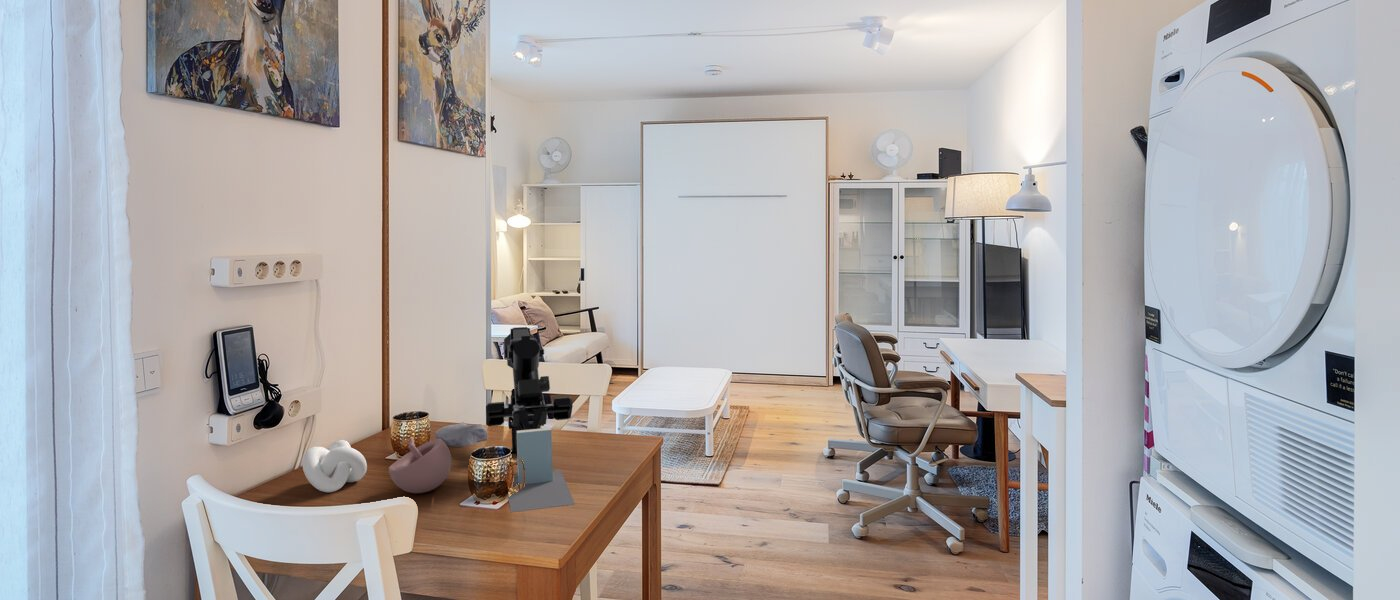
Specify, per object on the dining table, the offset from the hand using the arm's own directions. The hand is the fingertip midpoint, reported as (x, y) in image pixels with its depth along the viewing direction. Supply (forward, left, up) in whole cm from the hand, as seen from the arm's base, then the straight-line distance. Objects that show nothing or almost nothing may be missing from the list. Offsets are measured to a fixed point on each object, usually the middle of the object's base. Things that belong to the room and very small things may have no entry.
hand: (532, 444), depth 152 cm
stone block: (-32, +23, -8) cm, 40 cm away
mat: (+5, -8, -7) cm, 12 cm away
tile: (+2, -4, -7) cm, 8 cm away
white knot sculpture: (-40, -13, -7) cm, 42 cm away
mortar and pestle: (-19, -13, -7) cm, 24 cm away
